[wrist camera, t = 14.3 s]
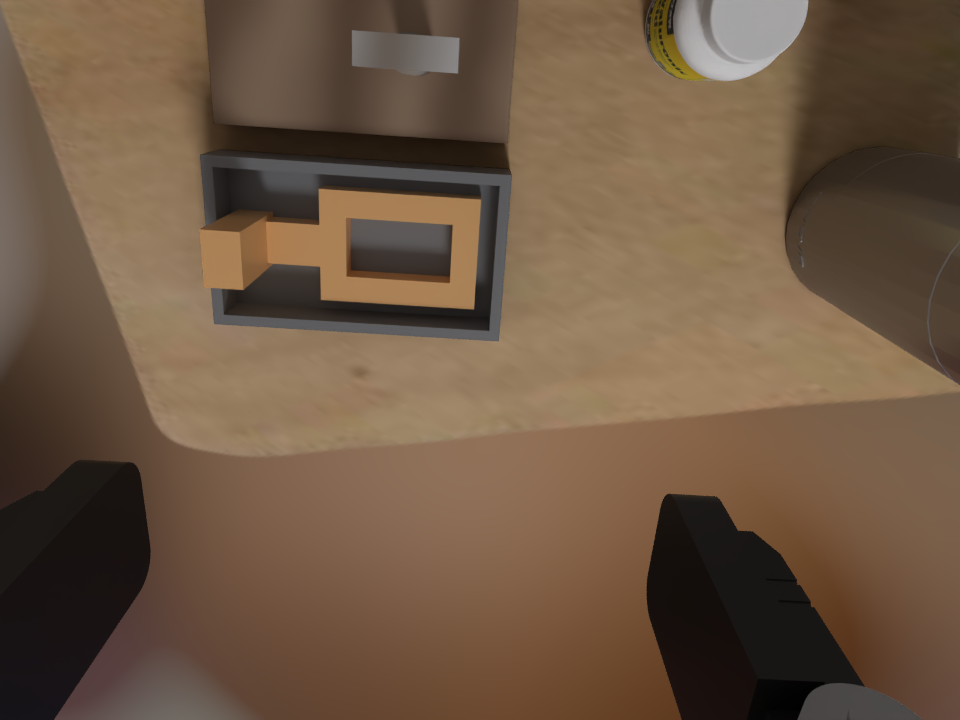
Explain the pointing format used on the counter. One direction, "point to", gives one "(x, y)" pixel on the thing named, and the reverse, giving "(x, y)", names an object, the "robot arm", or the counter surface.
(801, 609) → the robot arm
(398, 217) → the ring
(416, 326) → the tray
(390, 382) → the counter surface
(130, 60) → the counter surface
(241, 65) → the board
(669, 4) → the supplement bottle
